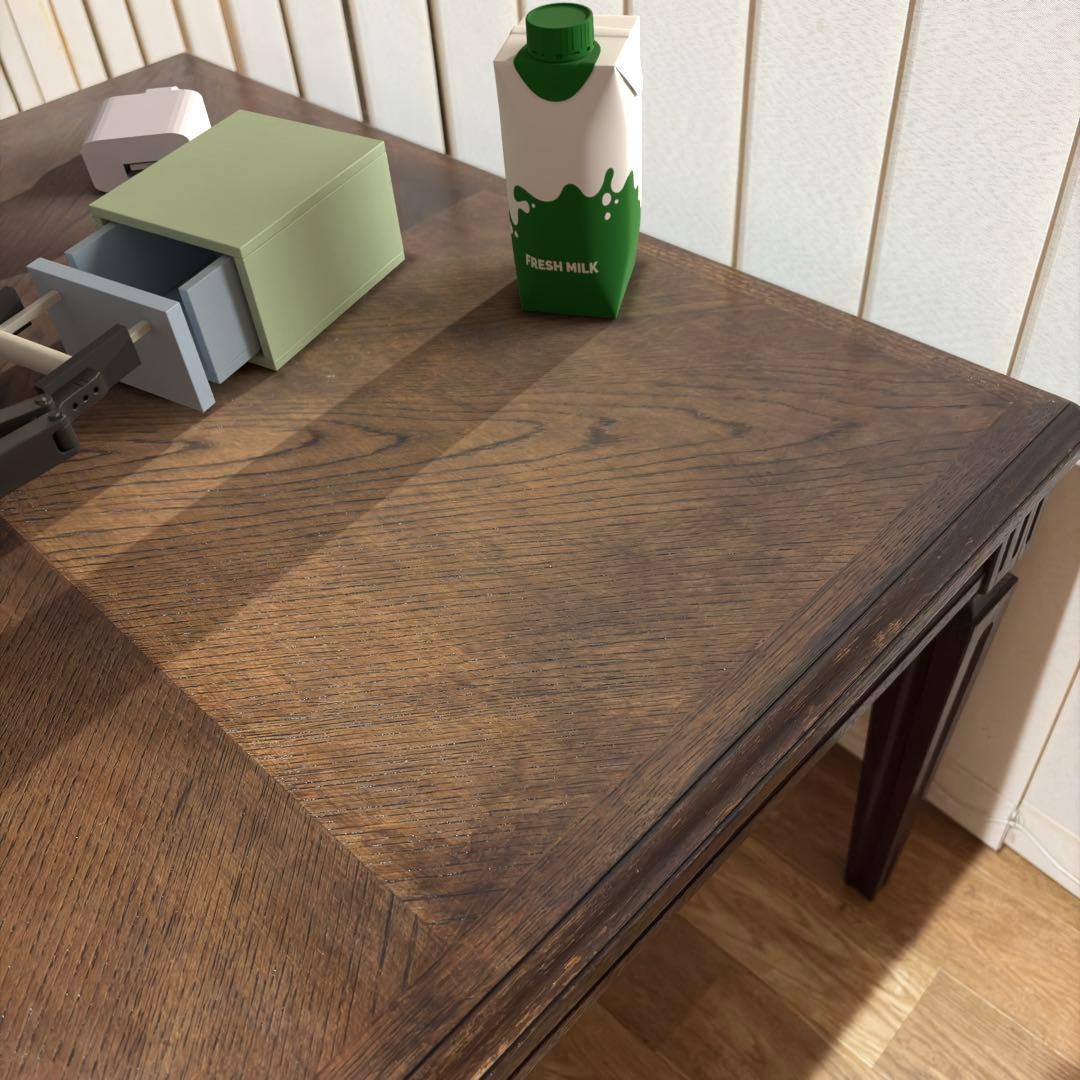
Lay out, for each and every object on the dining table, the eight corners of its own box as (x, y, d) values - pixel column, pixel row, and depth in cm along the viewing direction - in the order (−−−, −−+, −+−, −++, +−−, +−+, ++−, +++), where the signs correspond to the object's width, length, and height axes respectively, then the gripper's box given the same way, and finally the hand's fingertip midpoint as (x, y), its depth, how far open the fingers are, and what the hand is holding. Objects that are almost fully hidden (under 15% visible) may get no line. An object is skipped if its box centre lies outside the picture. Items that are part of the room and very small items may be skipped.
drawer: (134, 472, 66) (87, 371, 60) (0, 416, 71) (-55, 317, 65) (338, 297, 78) (315, 199, 72) (211, 260, 83) (180, 165, 77)
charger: (221, 108, 104) (202, 183, 93) (126, 119, 104) (97, 194, 93) (207, 59, 100) (186, 131, 90) (109, 69, 100) (76, 142, 90)
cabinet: (276, 371, 74) (239, 248, 67) (135, 323, 79) (87, 205, 72) (405, 259, 83) (384, 140, 76) (270, 222, 88) (239, 108, 81)
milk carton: (506, 317, 76) (476, 28, 62) (537, 249, 82) (516, -28, 68) (626, 328, 75) (624, 33, 60) (649, 258, 80) (652, -26, 66)
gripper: (-175, 590, 46) (184, 315, 59) (-434, 445, 54) (-70, 232, 67) (-90, 691, 51) (222, 419, 64) (-337, 545, 60) (-17, 330, 73)
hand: (73, 323), depth 66 cm, fingers closed on drawer, 9 cm apart
